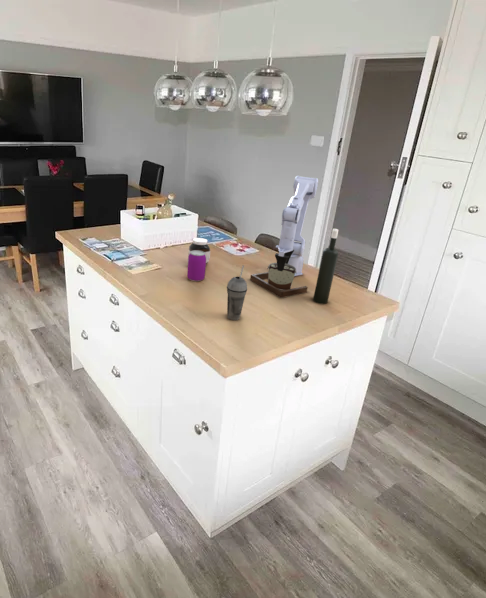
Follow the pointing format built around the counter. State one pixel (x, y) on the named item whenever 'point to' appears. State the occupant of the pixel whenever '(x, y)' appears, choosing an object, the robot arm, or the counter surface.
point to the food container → (281, 276)
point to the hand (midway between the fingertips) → (282, 268)
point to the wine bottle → (326, 271)
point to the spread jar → (200, 247)
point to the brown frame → (258, 280)
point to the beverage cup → (236, 296)
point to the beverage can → (196, 265)
